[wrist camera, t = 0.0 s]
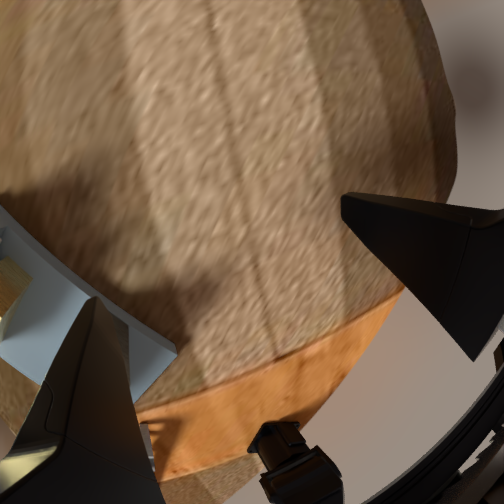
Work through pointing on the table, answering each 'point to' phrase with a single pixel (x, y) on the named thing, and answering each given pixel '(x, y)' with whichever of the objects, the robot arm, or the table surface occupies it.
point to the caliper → (147, 443)
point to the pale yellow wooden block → (11, 291)
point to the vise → (65, 314)
